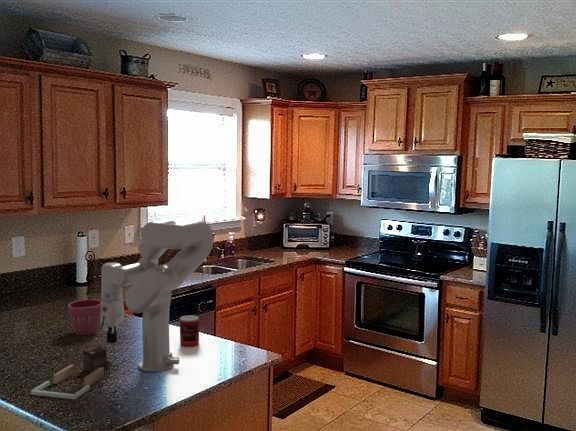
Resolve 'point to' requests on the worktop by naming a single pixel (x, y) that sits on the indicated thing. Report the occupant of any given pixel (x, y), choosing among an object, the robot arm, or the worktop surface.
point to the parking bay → (56, 394)
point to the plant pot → (85, 316)
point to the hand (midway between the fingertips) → (111, 342)
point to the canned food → (189, 330)
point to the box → (94, 358)
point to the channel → (71, 370)
